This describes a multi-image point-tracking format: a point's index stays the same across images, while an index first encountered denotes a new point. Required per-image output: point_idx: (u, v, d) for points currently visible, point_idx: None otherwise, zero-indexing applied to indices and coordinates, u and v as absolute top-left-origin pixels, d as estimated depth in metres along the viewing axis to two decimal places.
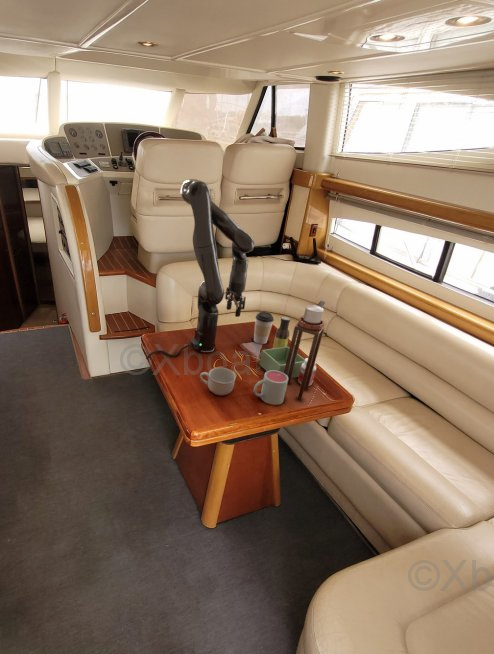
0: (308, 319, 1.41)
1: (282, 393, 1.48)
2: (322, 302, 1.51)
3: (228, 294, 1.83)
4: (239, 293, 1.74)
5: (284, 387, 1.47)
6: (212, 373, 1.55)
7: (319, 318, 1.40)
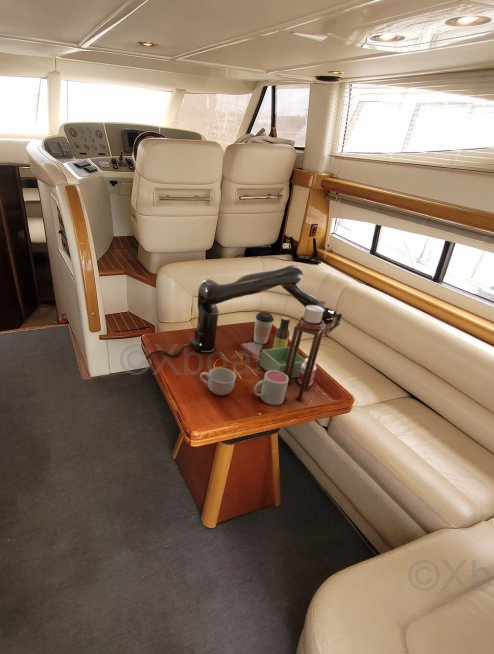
0: (308, 319, 1.41)
1: (282, 393, 1.48)
2: (322, 302, 1.51)
3: None
4: None
5: (284, 387, 1.47)
6: (212, 373, 1.55)
7: (319, 318, 1.40)
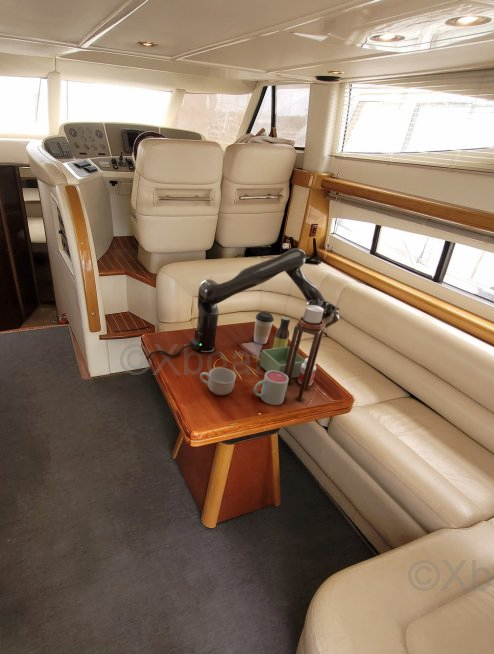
0: (308, 319, 1.41)
1: (282, 393, 1.48)
2: (322, 302, 1.51)
3: None
4: None
5: (284, 387, 1.47)
6: (212, 373, 1.55)
7: (319, 318, 1.40)
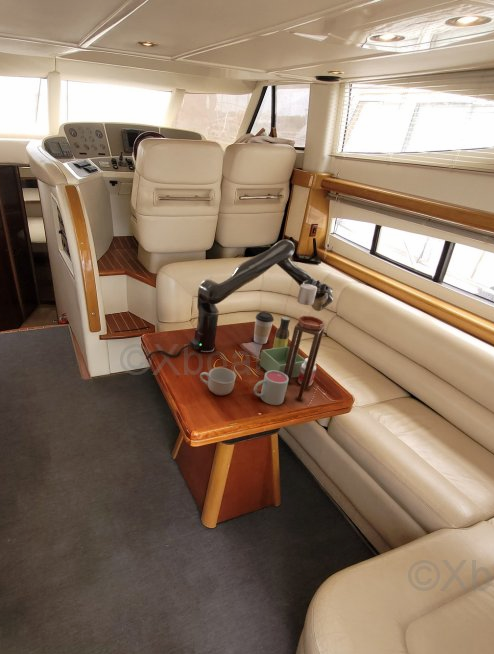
0: (303, 297, 1.51)
1: (282, 393, 1.48)
2: (316, 282, 1.61)
3: (307, 283, 1.66)
4: None
5: (284, 387, 1.47)
6: (212, 373, 1.55)
7: (313, 296, 1.50)
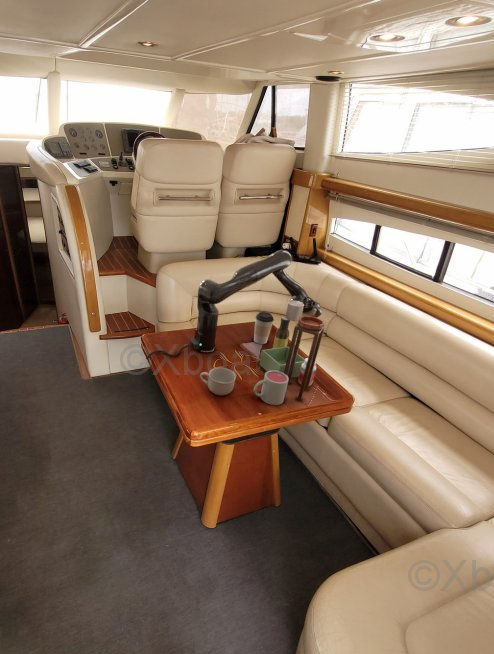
0: (290, 314, 1.58)
1: (282, 393, 1.48)
2: None
3: None
4: None
5: (284, 387, 1.47)
6: (212, 373, 1.55)
7: (300, 312, 1.57)
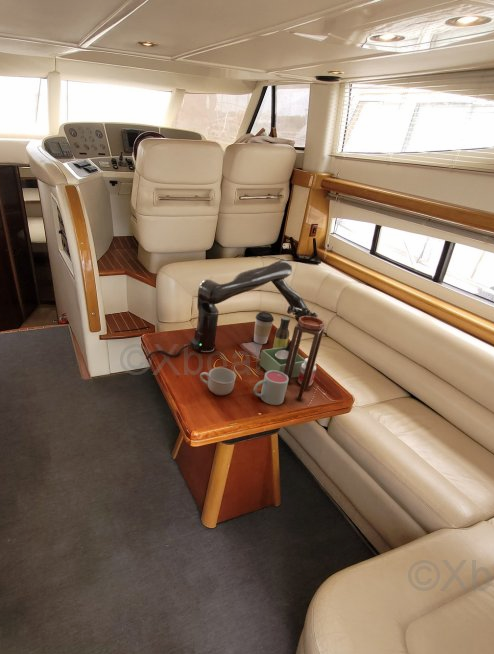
0: None
1: (282, 393, 1.48)
2: None
3: None
4: None
5: (284, 387, 1.47)
6: (212, 373, 1.55)
7: None
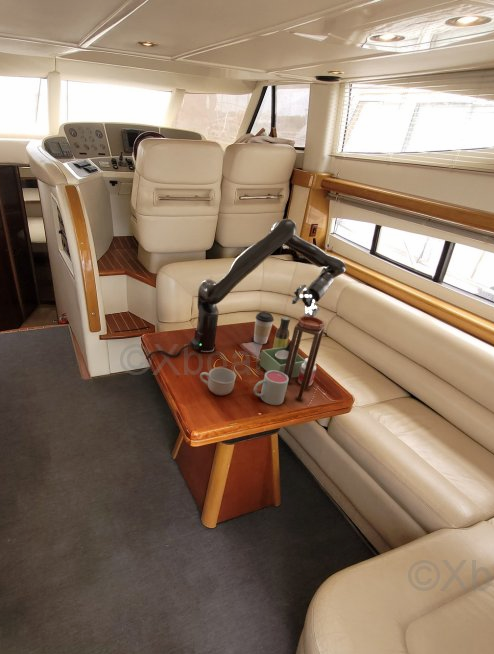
0: None
1: (282, 393, 1.48)
2: None
3: (301, 290, 1.67)
4: None
5: (284, 387, 1.47)
6: (212, 373, 1.55)
7: None
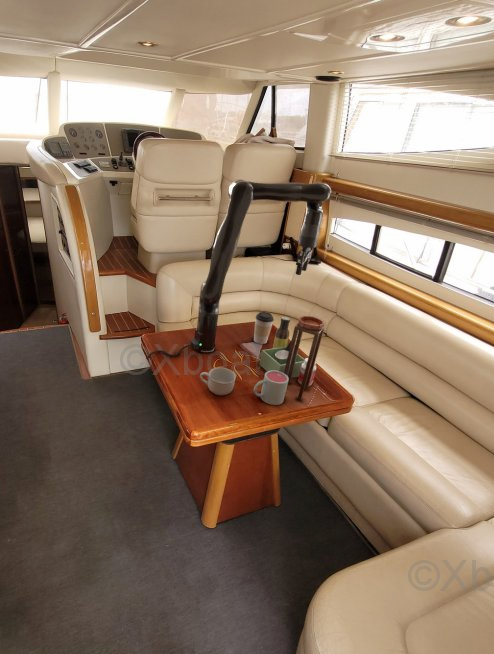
0: None
1: (282, 393, 1.48)
2: None
3: None
4: None
5: (284, 387, 1.47)
6: (212, 373, 1.55)
7: None
